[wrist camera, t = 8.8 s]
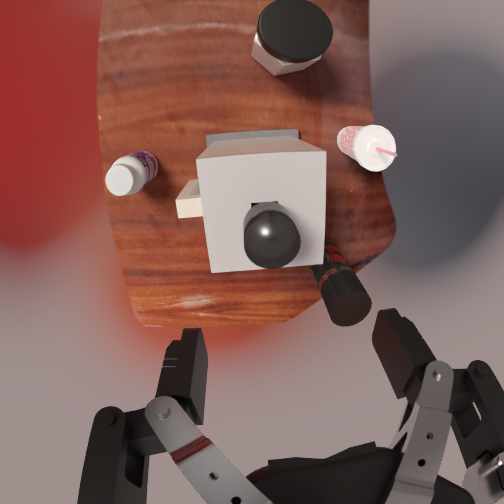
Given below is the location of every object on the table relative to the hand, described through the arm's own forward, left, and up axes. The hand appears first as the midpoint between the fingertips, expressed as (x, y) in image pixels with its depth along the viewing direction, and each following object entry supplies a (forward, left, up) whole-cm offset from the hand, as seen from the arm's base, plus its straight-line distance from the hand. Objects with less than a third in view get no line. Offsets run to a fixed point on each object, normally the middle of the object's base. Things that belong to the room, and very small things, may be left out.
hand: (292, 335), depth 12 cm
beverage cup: (-5, +15, -34) cm, 37 cm away
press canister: (0, -1, -33) cm, 33 cm away
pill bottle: (-3, -17, -34) cm, 38 cm away
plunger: (0, 0, -24) cm, 24 cm away
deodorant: (+15, +11, -34) cm, 38 cm away
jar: (-19, +5, -34) cm, 39 cm away
